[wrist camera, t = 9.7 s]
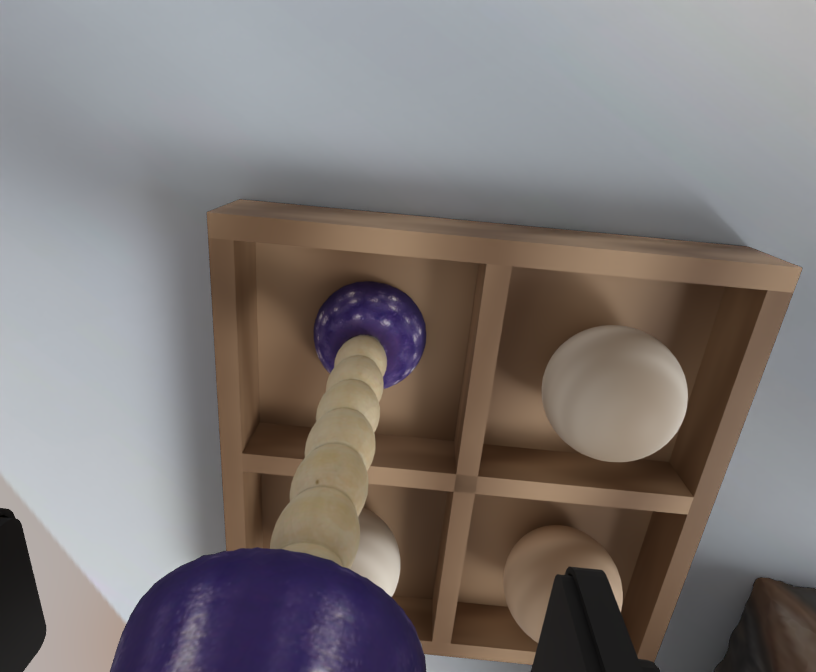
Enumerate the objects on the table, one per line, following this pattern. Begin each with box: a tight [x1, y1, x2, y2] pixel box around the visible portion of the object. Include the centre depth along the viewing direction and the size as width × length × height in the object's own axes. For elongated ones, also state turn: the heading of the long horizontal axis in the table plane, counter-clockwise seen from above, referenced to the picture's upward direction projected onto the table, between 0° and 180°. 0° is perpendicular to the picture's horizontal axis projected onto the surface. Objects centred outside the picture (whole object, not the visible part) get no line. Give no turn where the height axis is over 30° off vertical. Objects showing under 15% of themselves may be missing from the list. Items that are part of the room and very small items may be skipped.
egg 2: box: [542, 325, 688, 462], centre depth 18 cm, size 5×5×5 cm
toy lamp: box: [110, 281, 426, 672], centre depth 12 cm, size 5×5×17 cm
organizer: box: [207, 199, 802, 665], centre depth 21 cm, size 18×18×3 cm
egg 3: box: [503, 525, 623, 643], centre depth 21 cm, size 5×5×5 cm
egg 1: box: [350, 508, 400, 597], centre depth 21 cm, size 5×5×5 cm
